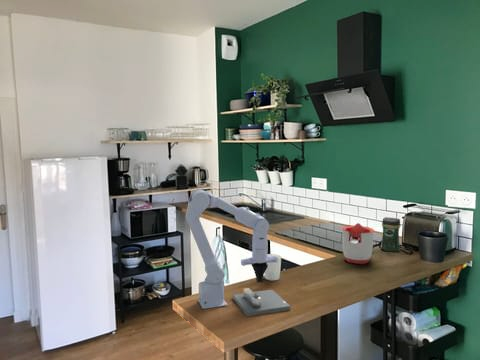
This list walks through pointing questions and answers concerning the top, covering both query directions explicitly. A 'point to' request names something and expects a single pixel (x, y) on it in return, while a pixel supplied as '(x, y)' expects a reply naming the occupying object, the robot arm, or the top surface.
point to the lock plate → (262, 303)
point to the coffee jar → (390, 234)
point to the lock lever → (252, 298)
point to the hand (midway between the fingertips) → (259, 281)
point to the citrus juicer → (357, 243)
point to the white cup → (273, 268)
